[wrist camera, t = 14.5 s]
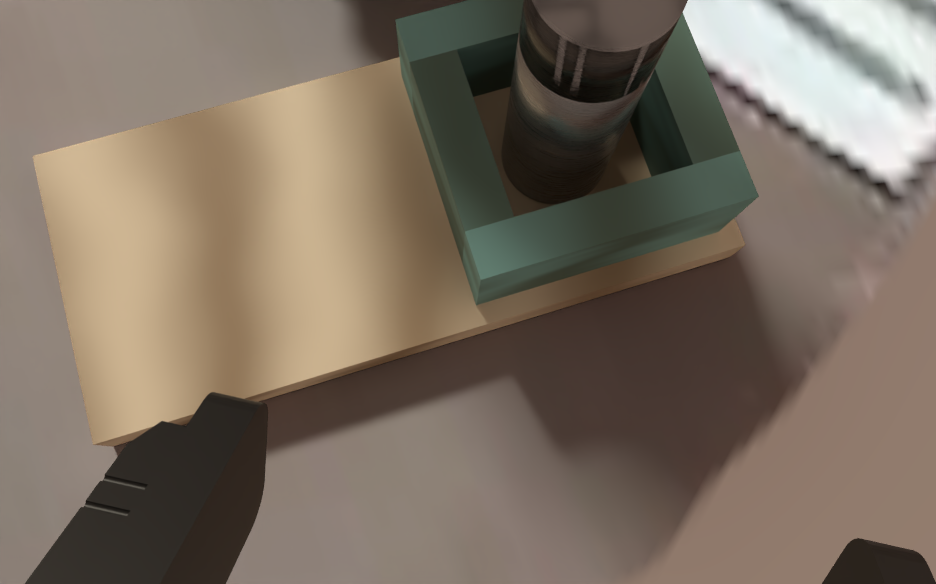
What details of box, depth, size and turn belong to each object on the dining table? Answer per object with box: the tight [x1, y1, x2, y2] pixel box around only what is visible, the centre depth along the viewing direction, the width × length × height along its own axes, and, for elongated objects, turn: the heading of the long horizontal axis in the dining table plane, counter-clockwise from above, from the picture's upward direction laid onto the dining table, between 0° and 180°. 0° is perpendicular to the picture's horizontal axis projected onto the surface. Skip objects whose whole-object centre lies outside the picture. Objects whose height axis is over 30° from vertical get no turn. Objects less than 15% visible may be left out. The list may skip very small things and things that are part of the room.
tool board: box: [33, 0, 759, 446], centre depth 26 cm, size 22×10×5 cm, turn 108°
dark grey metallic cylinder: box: [501, 0, 688, 205], centre depth 22 cm, size 4×4×10 cm
